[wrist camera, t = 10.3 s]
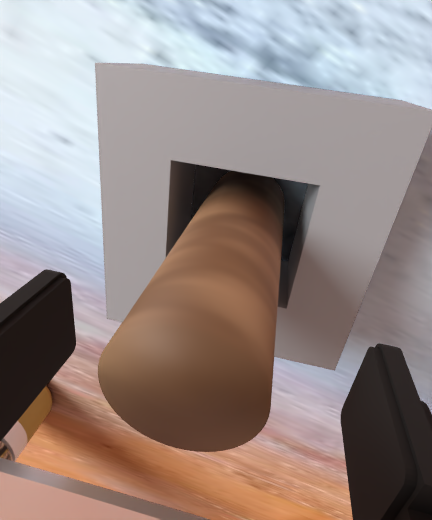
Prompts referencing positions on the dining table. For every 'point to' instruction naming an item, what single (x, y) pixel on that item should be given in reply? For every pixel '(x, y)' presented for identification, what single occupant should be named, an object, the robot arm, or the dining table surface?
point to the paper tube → (26, 426)
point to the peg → (205, 326)
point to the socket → (259, 163)
